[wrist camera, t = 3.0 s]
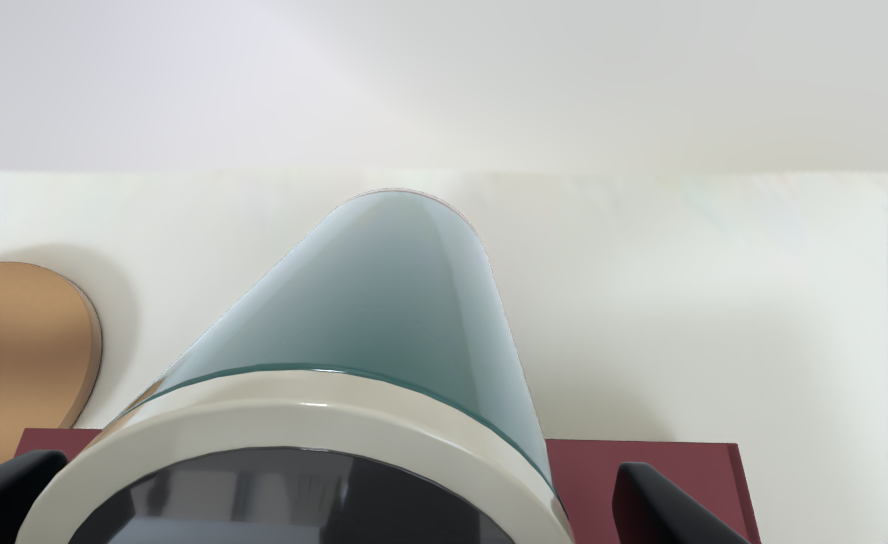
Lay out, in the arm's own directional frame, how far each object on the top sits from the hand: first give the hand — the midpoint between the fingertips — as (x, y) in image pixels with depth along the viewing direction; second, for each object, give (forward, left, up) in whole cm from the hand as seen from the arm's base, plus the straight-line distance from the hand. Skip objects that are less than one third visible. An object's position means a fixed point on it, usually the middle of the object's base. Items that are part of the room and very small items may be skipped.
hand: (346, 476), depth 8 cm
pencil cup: (+2, -1, -9) cm, 9 cm away
